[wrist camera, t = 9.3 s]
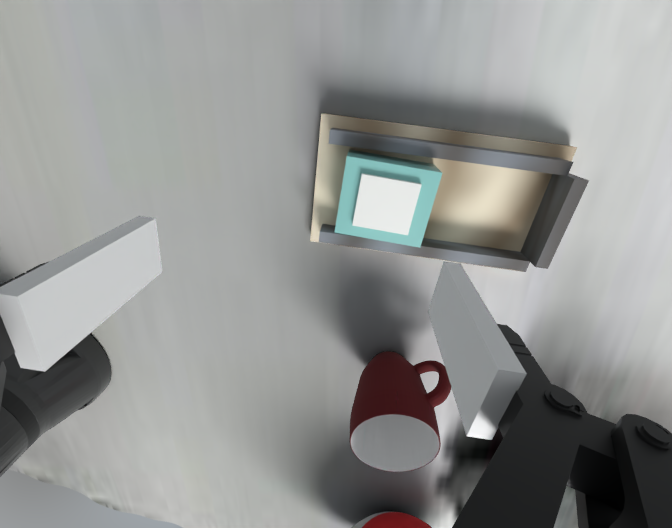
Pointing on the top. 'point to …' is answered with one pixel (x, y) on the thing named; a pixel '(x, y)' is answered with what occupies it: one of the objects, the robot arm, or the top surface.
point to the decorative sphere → (391, 521)
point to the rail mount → (459, 191)
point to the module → (386, 198)
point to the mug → (396, 414)
